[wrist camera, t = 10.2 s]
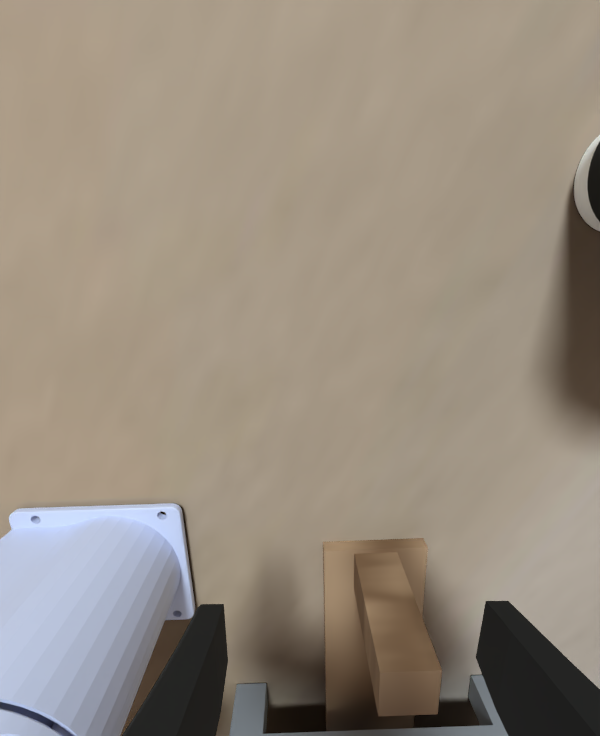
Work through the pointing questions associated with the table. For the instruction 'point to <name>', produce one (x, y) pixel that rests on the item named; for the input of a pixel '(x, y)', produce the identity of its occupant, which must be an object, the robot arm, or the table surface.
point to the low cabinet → (253, 721)
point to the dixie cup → (589, 185)
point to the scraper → (377, 635)
